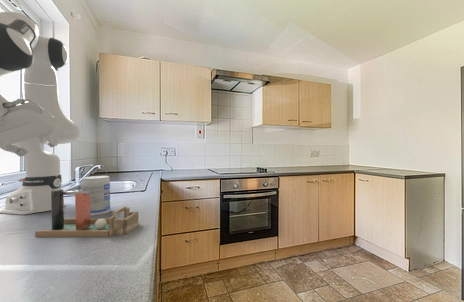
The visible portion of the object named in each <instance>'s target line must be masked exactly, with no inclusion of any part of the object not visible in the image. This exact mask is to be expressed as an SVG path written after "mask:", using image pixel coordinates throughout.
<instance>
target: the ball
mask: <svg viewBox="0 0 464 302" xmlns="http://www.w3.org/2000/svg"><path fill="white" fill-rule="evenodd" d="M97 219H98V220H97V221H96V222H95V227H96V228H97V229H103V228H105V227H106V225H107V222H106V220H105V219H103V218H97Z"/></svg>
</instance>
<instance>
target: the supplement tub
mask: <svg viewBox="0 0 464 302" xmlns="http://www.w3.org/2000/svg"><path fill="white" fill-rule="evenodd" d="M110 179H111V178H110V176H109V175H95V176H92V175H91V176H85V177H82V178H81V184H80V185H81V191H90V217H93V216H99V215H104V214H107V213H109V212H111V183H110V182H111V180H110Z"/></svg>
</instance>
